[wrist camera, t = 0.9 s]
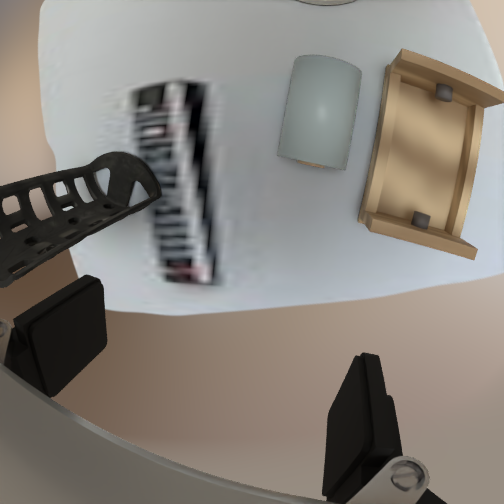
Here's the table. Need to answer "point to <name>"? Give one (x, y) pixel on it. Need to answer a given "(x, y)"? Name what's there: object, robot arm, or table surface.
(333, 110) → the roll
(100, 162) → the holder
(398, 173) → the cradle
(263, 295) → the table surface
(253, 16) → the table surface
